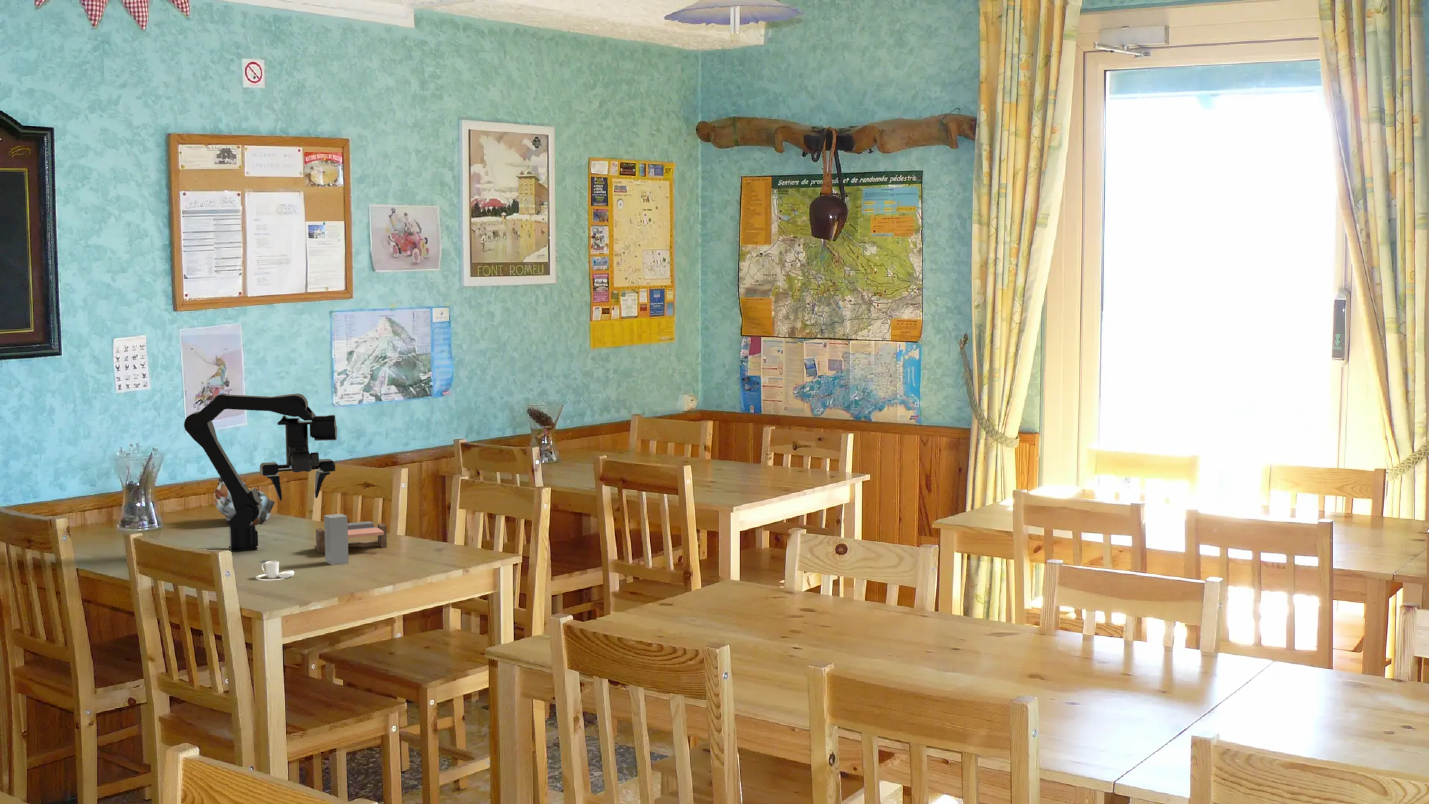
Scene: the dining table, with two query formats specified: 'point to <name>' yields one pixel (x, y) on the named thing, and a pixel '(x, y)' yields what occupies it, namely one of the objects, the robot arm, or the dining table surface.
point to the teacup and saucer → (274, 571)
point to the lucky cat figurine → (227, 508)
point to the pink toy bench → (381, 542)
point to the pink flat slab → (363, 529)
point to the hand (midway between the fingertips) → (298, 499)
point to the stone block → (336, 539)
